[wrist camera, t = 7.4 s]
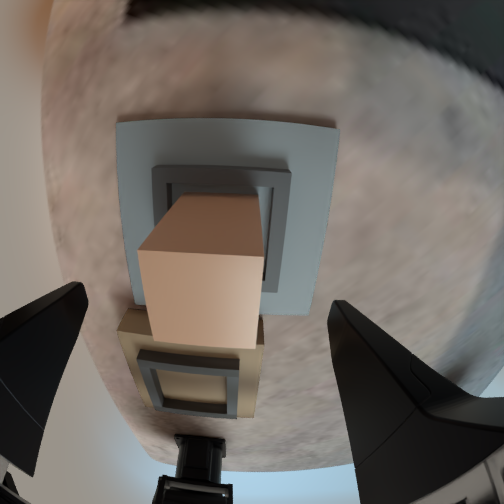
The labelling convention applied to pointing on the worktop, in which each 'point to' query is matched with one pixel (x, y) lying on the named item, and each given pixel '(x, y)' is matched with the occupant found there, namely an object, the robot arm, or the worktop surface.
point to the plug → (205, 271)
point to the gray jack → (234, 190)
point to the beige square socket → (191, 372)
